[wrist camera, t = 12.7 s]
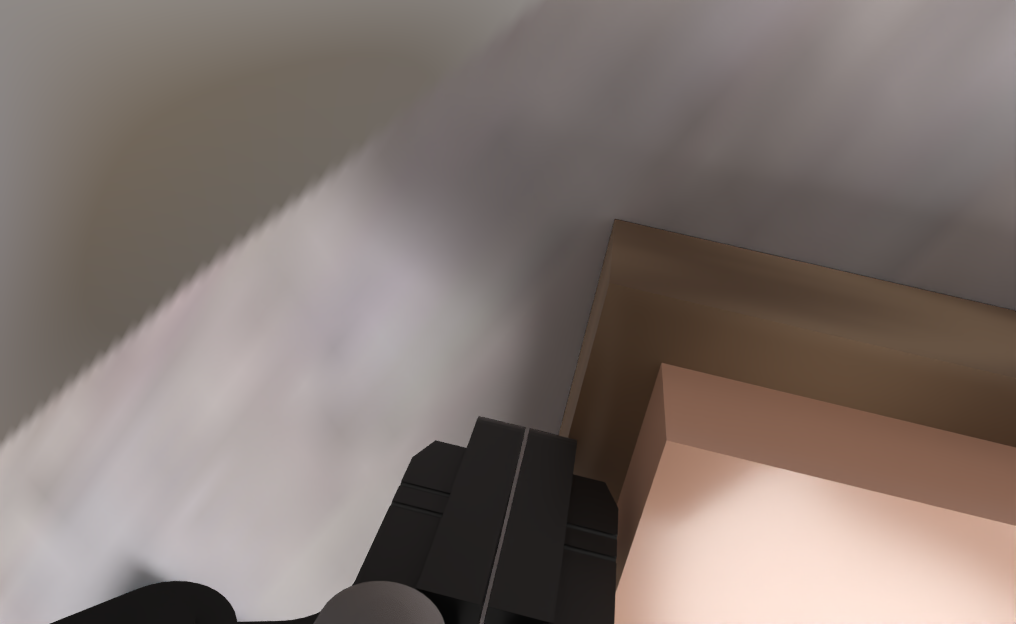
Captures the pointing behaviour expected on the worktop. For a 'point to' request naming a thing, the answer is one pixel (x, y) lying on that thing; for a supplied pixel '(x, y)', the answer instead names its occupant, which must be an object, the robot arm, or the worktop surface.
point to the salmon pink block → (808, 514)
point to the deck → (779, 343)
